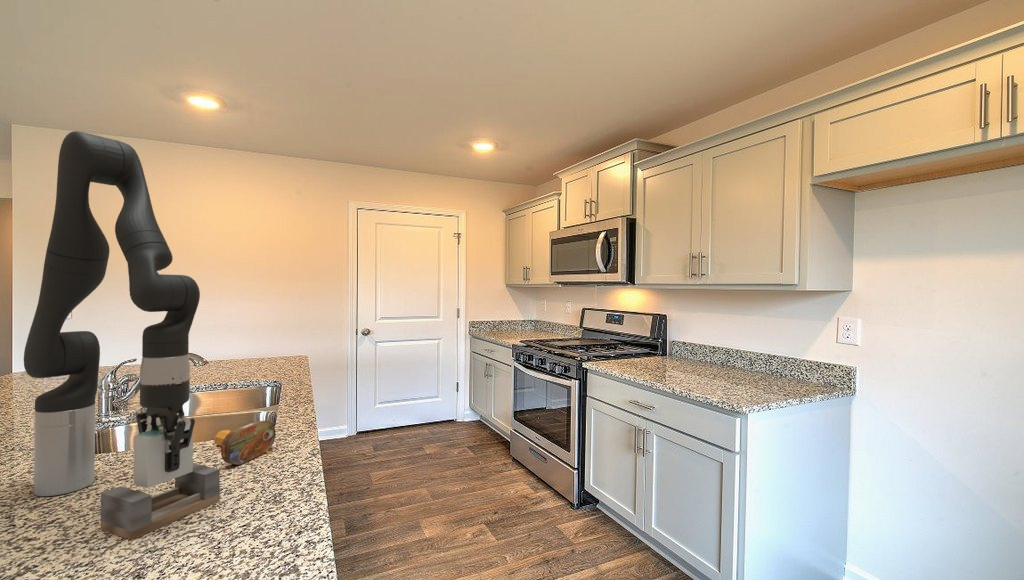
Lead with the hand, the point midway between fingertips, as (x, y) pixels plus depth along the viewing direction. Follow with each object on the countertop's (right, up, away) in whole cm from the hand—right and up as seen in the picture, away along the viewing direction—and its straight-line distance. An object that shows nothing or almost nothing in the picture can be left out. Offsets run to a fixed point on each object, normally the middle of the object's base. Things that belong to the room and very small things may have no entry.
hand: (164, 468), depth 86 cm
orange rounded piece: (-5, -9, +34) cm, 36 cm away
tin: (0, -9, +28) cm, 30 cm away
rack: (0, -9, 0) cm, 9 cm away
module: (0, -2, 0) cm, 2 cm away
